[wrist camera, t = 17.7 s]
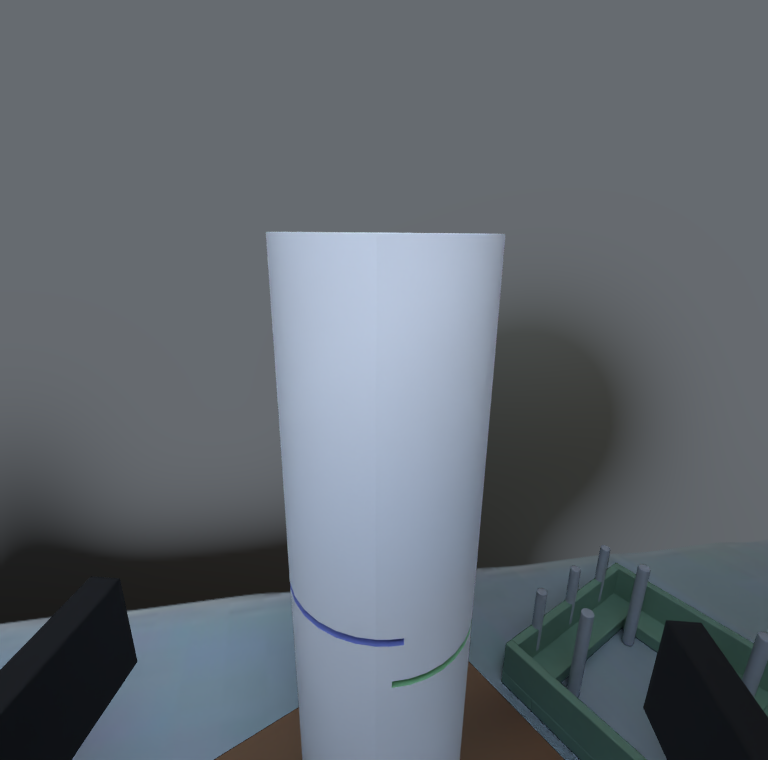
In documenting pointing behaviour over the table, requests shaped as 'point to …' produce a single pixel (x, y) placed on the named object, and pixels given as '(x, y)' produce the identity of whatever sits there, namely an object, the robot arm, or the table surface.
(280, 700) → the table surface
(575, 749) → the drying rack
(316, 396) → the cylindrical container
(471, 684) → the brown slab
